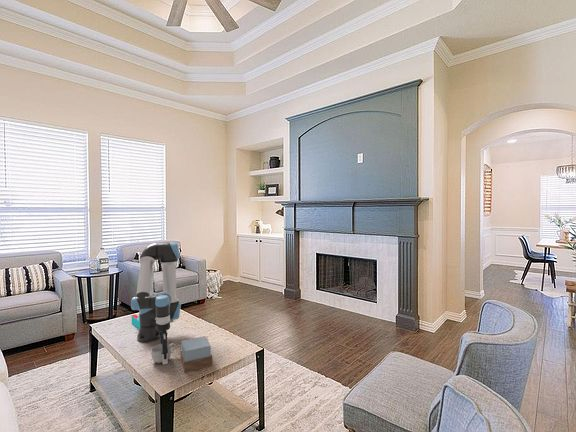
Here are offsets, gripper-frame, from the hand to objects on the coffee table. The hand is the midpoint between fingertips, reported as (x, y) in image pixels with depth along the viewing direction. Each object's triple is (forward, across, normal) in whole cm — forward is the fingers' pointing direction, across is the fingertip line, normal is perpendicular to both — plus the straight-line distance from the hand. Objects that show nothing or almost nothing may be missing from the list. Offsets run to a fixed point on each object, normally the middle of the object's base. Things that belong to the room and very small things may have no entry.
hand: (164, 359), depth 178 cm
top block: (-5, +12, +16) cm, 21 cm away
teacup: (0, 0, 0) cm, 0 cm away
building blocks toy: (+2, -66, -2) cm, 67 cm away
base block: (+1, +12, +16) cm, 20 cm away
